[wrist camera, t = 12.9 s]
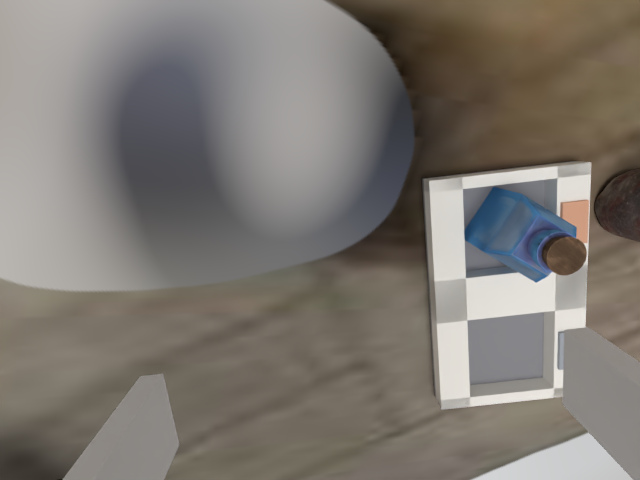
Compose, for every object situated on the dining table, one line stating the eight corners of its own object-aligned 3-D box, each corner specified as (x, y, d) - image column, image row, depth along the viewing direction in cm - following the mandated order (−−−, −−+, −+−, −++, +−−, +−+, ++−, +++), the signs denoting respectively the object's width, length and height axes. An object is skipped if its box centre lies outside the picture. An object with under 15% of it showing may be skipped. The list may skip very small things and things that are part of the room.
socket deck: (567, 380, 49) (585, 396, 46) (434, 394, 49) (442, 411, 46) (573, 160, 43) (593, 162, 40) (421, 178, 43) (430, 181, 40)
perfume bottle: (540, 215, 44) (622, 242, 32) (506, 263, 45) (573, 306, 33) (493, 186, 43) (559, 203, 31) (460, 236, 44) (511, 270, 33)
